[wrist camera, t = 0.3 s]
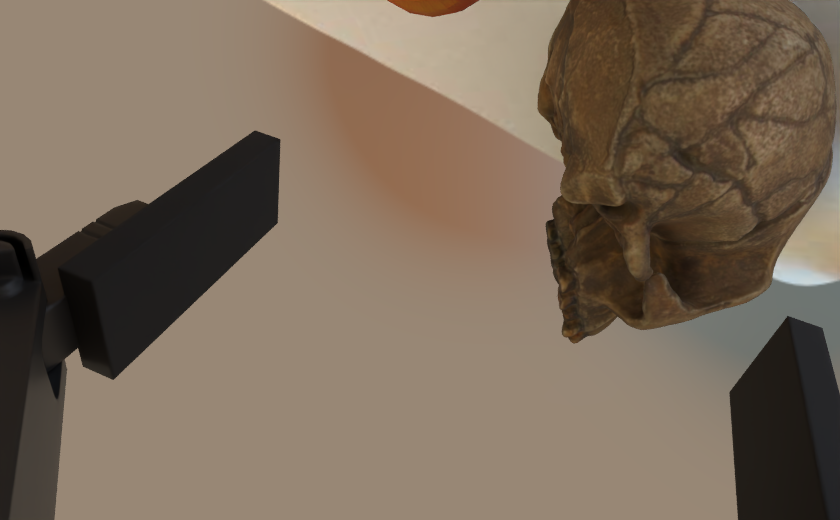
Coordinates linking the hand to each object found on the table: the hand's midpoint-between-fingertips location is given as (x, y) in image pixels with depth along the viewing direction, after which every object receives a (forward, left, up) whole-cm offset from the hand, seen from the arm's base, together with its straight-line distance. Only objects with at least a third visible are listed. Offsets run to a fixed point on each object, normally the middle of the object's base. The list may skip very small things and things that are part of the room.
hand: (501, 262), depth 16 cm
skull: (+8, -1, -19) cm, 20 cm away
